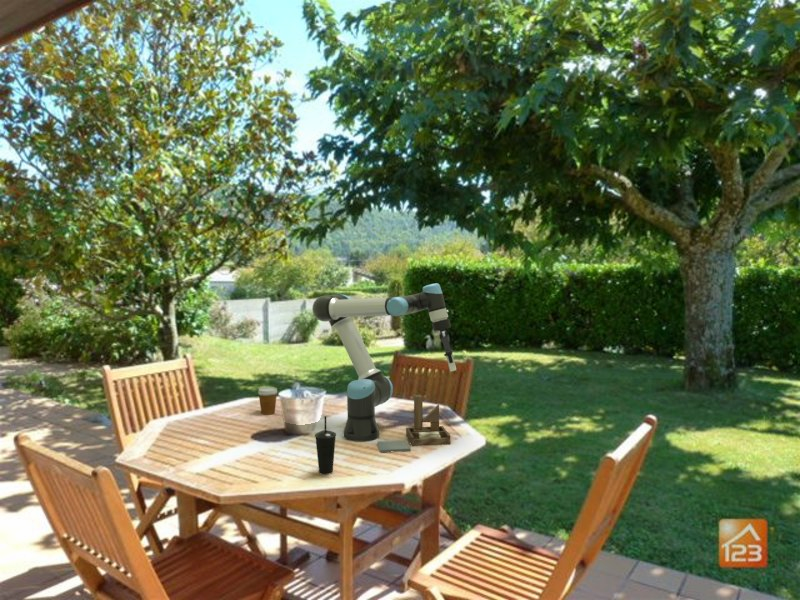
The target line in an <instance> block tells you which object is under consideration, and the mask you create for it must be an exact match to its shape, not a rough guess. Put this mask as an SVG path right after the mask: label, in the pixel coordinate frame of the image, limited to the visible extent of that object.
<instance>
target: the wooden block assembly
mask: <svg viewBox="0 0 800 600" xmlns="http://www.w3.org/2000/svg"><path fill="white" fill-rule="evenodd" d="M423 400H424V399H423V395H422V394H421V395H420V394H415V395H414V396H413V427H414V432H430V431H439V426H440V404H439V403H438V404H436V406H435V407H434V408H432V410H430V412H428V413H427V415H426V416H424V417H423V415H424V414H423ZM423 423H430V427H431V430H430V429H427V428H423V427H424V426H423Z"/></svg>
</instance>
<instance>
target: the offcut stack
mask: <svg viewBox="0 0 800 600" xmlns="http://www.w3.org/2000/svg"><path fill="white" fill-rule="evenodd" d="M418 433H419V439H427V438H441V436H440V435H439V432H418Z"/></svg>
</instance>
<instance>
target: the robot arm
mask: <svg viewBox="0 0 800 600" xmlns="http://www.w3.org/2000/svg"><path fill="white" fill-rule="evenodd" d="M425 310H428V315H429V318H430V321H431V322H432V323H431V325H432V330H433V331H434V332H437V331H440V332H439V333H440V334H438V335H439V339H440V341H441V344H443V348H444V352H445V353H443V355H444V357H445V358H446V361H447V365H448V368H449V372H450V373H451V372H454V371H457V367H456V366H457V365H456V362H455V359H454V355H453V353H454V350H453V349H452V348H451V344H450V343H451V340H450V335H449V332H448V331H447V330H446V329H449V328H451V327H452V325H451V320H450V318H449V314H448V313H449V312H450V311H449V309H447V307H446V302H445V299H444V295H443V291H442V288H441V285H440V284H439V283H437V282H436V283H431V284H427V285H425V286H423V287H422V291H421V292H419V293H414V294H410V295H404V296H390V297H388V296H387V297H368V298H350V297H349V296H348V295H346V294H343V293H342V294H341V293H335V294H327V295H322V296H319V297H317V298H316V299H315V300H314V302H313V304H312V313H313V315H314V317H315V318H316V320H319V321H320V322H328V323H329V324H330V327H331V328H332V329H335V330H336V332H337V333H338V336H339V338H340V341H341V342H342V344H343V347H344V349H345V351H346V353H347V355H348V358H349V360H350V361H351V364H352V366H353V368H354V369H355V371H356V374H357V376H358V379H356V380H352V381H351V382H349V383H348V384H347V387H346V388H347V390H346V397H347V398H346V399H347V401H346V402H347V403H346V404H347V405H346V406H347V411H346V413H347V417H346V418H347V419H346V422H345V426H344V429H343V438H344V439H346V440H347V441H353V442H366V441H367V442H368V441H373V440H375V439H378V438H379V436H380V430H379V427H378V424H377V421H376V413H375V412H376V407H378V406H379V405H383V404H385V403H386V402H387V401H389V400H390V398H391V397H392V395H393V392H394V387H393V383H392V381H391V380H390V379H389V377H386V376H384V374H383V372H382V371H381V370H380V369H378V368H376V366H375V363H374V362H373V359H372V357H371V355H370V353H369V351H368V349H367V346H366V345H365V343H364V341H363V338H362V336H361V334H360V331H358V328H357V326H356V324H355V322H354V321H355V317H357V318H358V317H378V316H379V317H382V316H393V317H400V316H403V315H405V316H406V315H412V314H415V313H419V312H421V311H425Z"/></svg>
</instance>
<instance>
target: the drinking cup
mask: <svg viewBox="0 0 800 600" xmlns="http://www.w3.org/2000/svg"><path fill="white" fill-rule="evenodd" d="M323 422H324V424H323V425H324V430H320V431H317V432H315V433H314V438H315V444H316V445H315V447H316V455H317V463H318V464H317V465H318V472H319V474H320V473H321V474H320V475H330V474H332V473H333V472H334V461H335V449H336V436H337V432H335V431H333V430H330V429H327V415H326V416H325V415H324V419H323ZM329 473H330V474H329Z"/></svg>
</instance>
